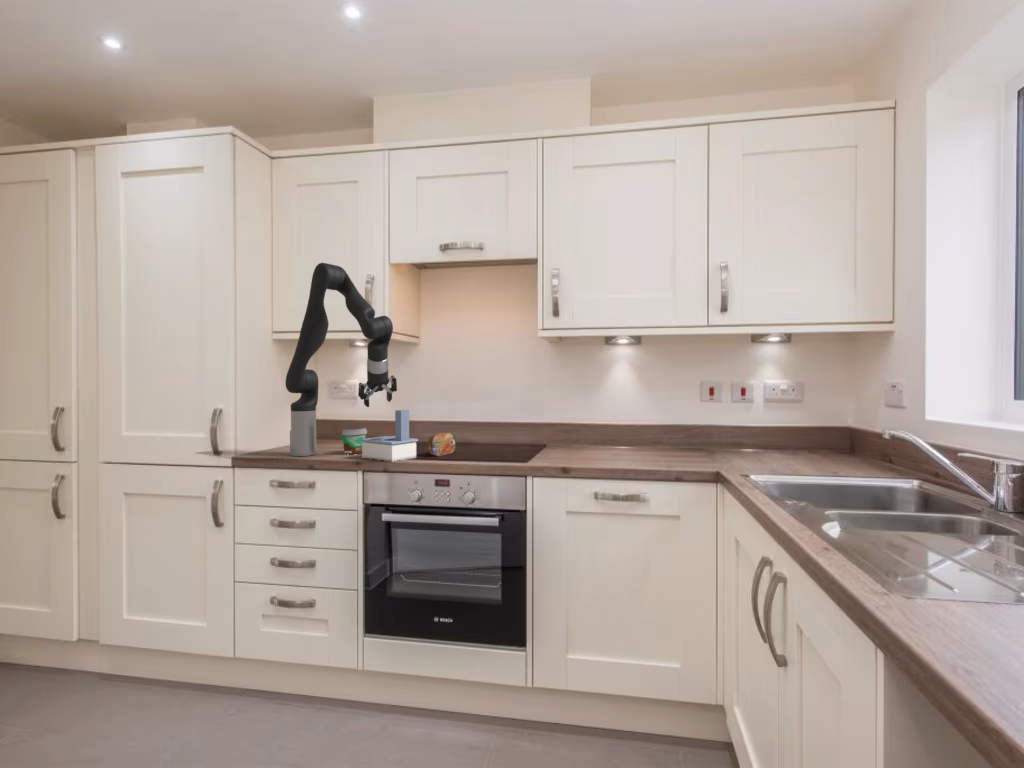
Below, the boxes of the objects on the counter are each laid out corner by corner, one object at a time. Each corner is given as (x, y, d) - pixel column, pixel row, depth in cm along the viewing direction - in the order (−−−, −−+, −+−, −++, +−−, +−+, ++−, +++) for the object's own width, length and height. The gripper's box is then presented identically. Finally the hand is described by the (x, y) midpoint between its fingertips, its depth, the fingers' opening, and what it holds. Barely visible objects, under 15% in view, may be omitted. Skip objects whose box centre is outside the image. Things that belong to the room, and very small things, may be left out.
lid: (360, 441, 206) (360, 409, 206) (386, 438, 217) (386, 407, 217) (391, 444, 197) (391, 411, 196) (418, 440, 207) (417, 409, 207)
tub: (362, 458, 207) (362, 442, 206) (386, 454, 216) (386, 439, 216) (392, 462, 197) (391, 445, 197) (416, 457, 207) (416, 441, 207)
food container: (355, 456, 212) (355, 430, 212) (341, 455, 214) (341, 429, 214) (373, 452, 223) (373, 427, 223) (360, 451, 225) (360, 426, 225)
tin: (432, 457, 209) (432, 435, 208) (426, 456, 210) (426, 434, 210) (457, 452, 221) (456, 431, 221) (450, 452, 223) (450, 431, 223)
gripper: (391, 358, 208) (391, 393, 217) (354, 366, 201) (356, 402, 210) (400, 368, 203) (399, 404, 212) (362, 376, 196) (363, 413, 205)
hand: (378, 403), depth 211 cm, fingers open, 8 cm apart
